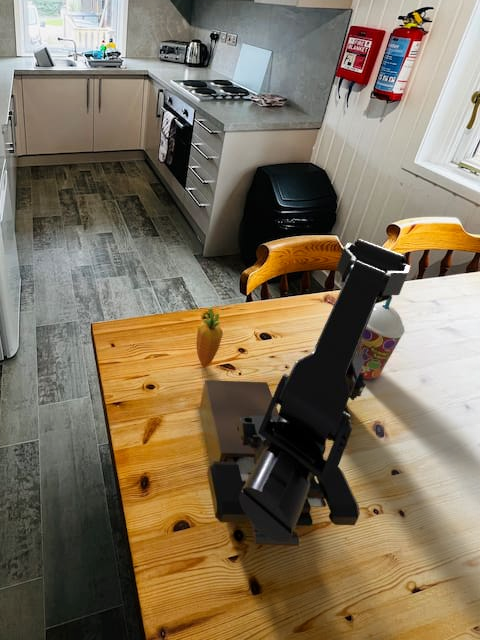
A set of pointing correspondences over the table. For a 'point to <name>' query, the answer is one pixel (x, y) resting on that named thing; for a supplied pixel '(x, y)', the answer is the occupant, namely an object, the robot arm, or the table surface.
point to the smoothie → (380, 339)
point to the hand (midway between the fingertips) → (268, 525)
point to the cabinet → (230, 414)
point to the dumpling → (245, 464)
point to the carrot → (208, 338)
